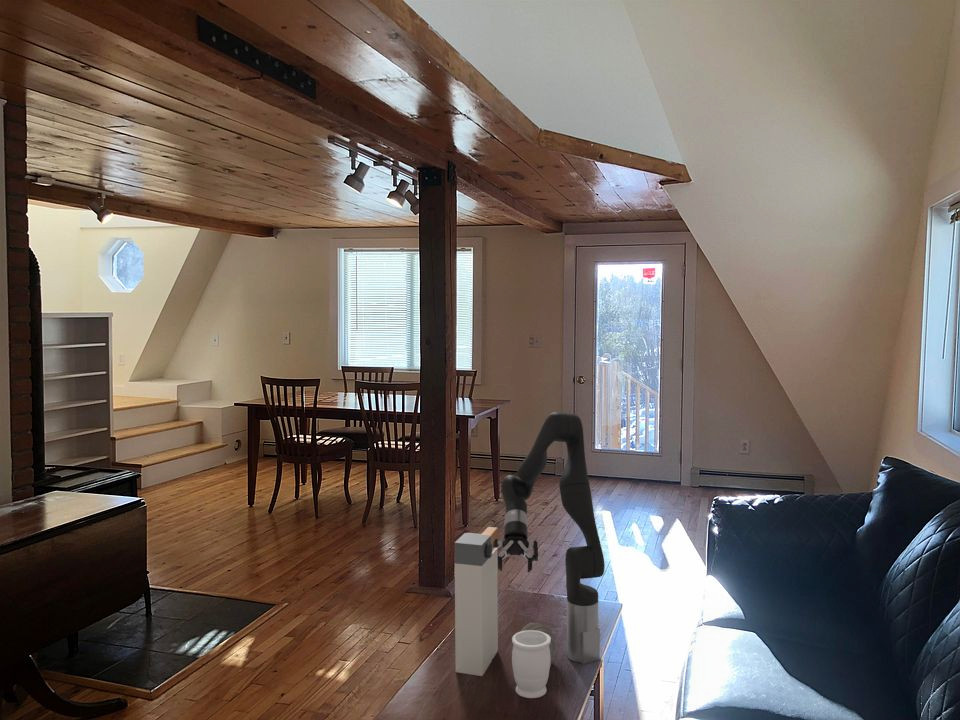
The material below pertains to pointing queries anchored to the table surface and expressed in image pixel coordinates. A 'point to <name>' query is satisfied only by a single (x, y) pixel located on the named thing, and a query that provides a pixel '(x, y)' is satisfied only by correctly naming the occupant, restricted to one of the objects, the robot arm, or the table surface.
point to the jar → (531, 662)
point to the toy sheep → (546, 630)
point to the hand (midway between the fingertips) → (514, 570)
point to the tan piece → (491, 533)
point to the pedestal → (475, 603)
